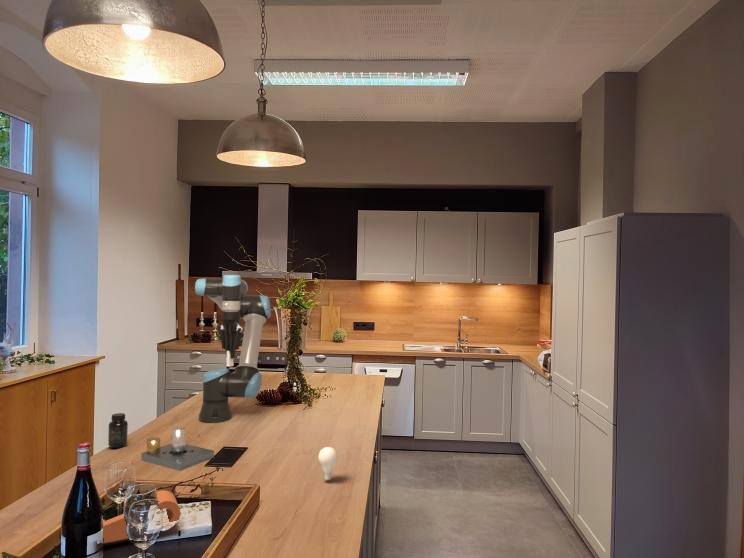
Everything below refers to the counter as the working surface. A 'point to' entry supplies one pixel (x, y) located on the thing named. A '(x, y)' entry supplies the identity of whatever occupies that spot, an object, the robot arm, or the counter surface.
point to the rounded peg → (178, 440)
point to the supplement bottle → (118, 431)
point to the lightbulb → (327, 461)
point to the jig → (169, 460)
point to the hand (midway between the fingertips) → (230, 365)
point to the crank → (117, 525)
